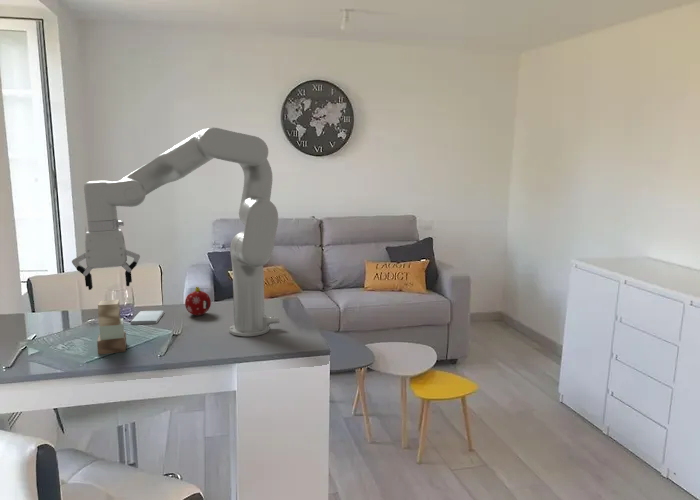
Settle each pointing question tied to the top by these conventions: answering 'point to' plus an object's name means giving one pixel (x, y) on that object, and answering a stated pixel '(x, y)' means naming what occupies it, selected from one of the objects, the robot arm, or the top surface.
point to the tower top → (112, 331)
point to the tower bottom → (111, 345)
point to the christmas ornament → (197, 302)
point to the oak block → (109, 312)
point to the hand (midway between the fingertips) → (109, 287)
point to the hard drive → (147, 317)
